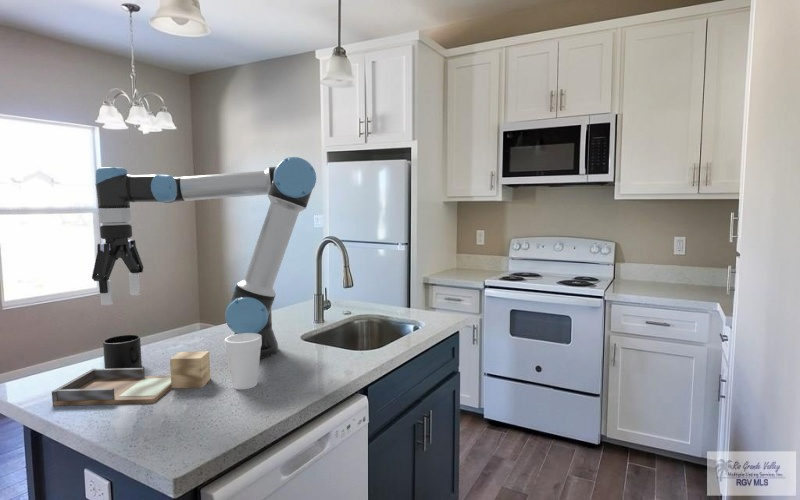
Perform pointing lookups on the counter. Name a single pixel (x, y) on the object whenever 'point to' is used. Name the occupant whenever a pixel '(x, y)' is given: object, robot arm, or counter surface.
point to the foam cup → (243, 359)
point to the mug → (122, 352)
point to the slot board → (112, 388)
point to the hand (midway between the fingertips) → (122, 299)
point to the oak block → (190, 369)
